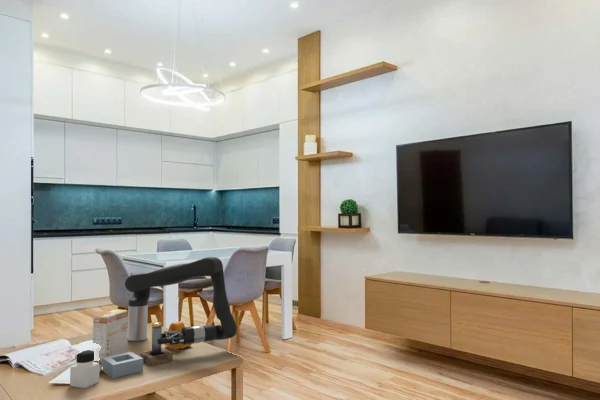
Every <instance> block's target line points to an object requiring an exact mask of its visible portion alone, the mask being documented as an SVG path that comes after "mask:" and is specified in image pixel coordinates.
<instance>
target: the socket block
mask: <svg viewBox="0 0 600 400" xmlns="http://www.w3.org/2000/svg"><path fill="white" fill-rule="evenodd" d="M139 356H140V357H142V358H143V363H145V364H147V365H149V366H156V365H159V364H163V363H167V362H172V361H173V357H174V355H173V352H170V351H169V350H166V349H165V348H161V354H160V355H156V356H152V350H148V351H145V352H144V351H143V352H140V355H139Z"/></svg>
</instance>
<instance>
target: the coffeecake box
mask: <svg viewBox="0 0 600 400" xmlns="http://www.w3.org/2000/svg"><path fill="white" fill-rule="evenodd" d="M92 319H93V321H92V323H93V324H92V344H93V343H96V344H99V345H100V346H101V349H100V351H99V358H100V360H99V362H98V363H102V358H103V357H108V356H113V355H118V354H123V353H128V310H127V309H121V308H120V309H118V308H116V309H112V310H110V311H106V312H104V313H99V314H97V315H93V318H92Z"/></svg>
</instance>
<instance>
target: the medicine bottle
mask: <svg viewBox="0 0 600 400" xmlns="http://www.w3.org/2000/svg"><path fill="white" fill-rule="evenodd" d="M75 355H76V357H75V358H76V359H75V360H76V363H75V364H74V365H72V366H70V368H69V369H70V371H69V372H70V374H69V386H70V387H74V388H81V389H87V388H88V387H91V386H93V385H95V384H97V383H100V362H94V351H93V350H91V349H90V350H89V349H85V350H81V351H78V352H77V353H76V354H75Z"/></svg>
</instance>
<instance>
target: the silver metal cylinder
mask: <svg viewBox="0 0 600 400" xmlns="http://www.w3.org/2000/svg"><path fill="white" fill-rule="evenodd" d="M162 330H163V322H162V321H156V322H152V323H151V351H152V356H156V355H160V354H161V349H162V344H160V345H159V344H158V339H162V333H163V331H162Z"/></svg>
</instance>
